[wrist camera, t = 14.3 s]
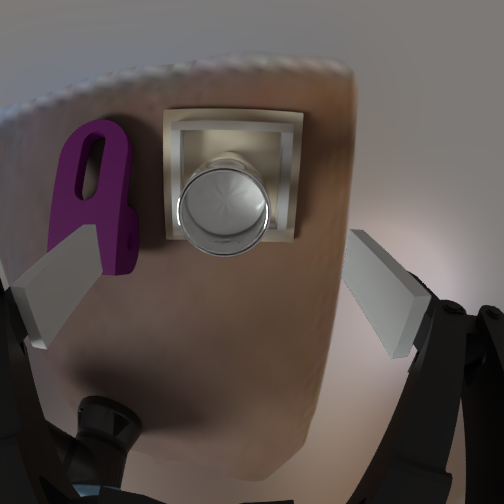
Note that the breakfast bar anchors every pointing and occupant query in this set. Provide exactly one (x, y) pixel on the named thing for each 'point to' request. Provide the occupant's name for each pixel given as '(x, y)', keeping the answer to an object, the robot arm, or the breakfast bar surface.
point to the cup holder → (240, 141)
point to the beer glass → (224, 206)
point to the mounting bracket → (97, 196)
